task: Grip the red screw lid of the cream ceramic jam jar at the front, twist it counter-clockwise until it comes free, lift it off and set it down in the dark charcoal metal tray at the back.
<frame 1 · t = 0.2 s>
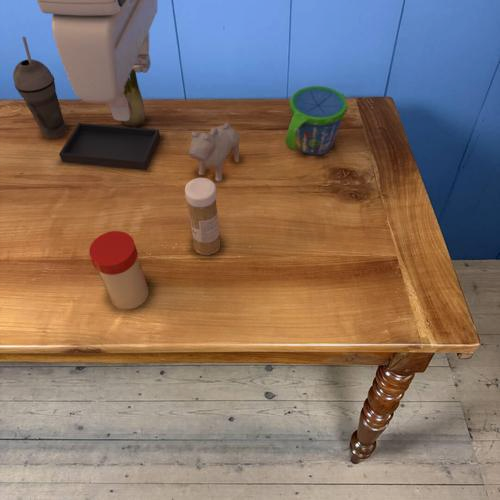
hand: (133, 91, 52), 30 cm above the table, tool pointing down, fingers open, 8 cm apart
lid: (112, 249, 62), point 11 cm above the table, screwed on, not yet turned
beverage cup: (55, 132, 97), on the table
dog figurine: (217, 170, 89), on the table
tray: (112, 149, 93), on the table
jar: (129, 293, 71), on the table
fennel bulb: (135, 124, 98), on the table
snack cup: (313, 145, 93), on the table
sprinkles bottle: (207, 246, 77), on the table
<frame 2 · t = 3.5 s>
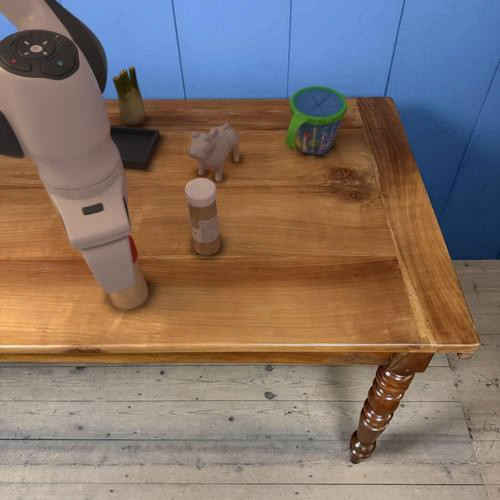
hand: (115, 256, 63), 9 cm above the table, tool pointing down, fingers closed on lid, 6 cm apart
lid: (112, 249, 62), point 11 cm above the table, screwed on, not yet turned, touching gripper
everything else where it was.
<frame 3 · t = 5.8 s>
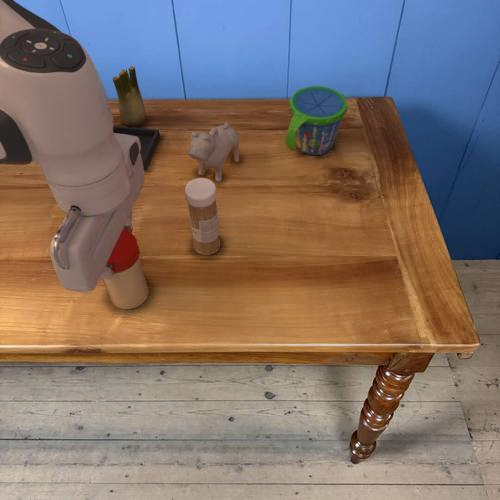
hand: (117, 253, 64), 9 cm above the table, tool pointing down, fingers closed on lid, 6 cm apart
lid: (115, 247, 63), point 11 cm above the table, off its thread, touching gripper, jar
jar: (129, 293, 71), on the table, touching lid
everything else where it was.
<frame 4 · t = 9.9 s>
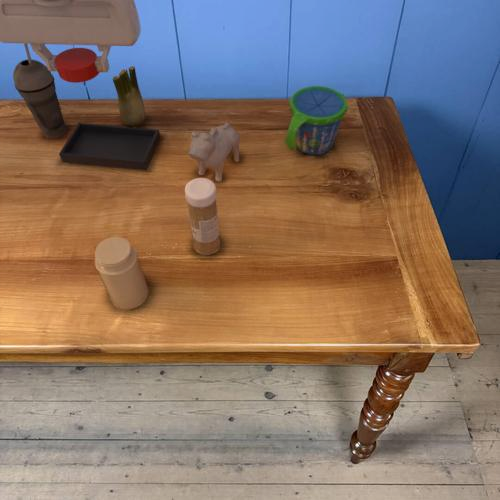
hand: (79, 69, 69), 23 cm above the table, tool pointing down, fingers closed on lid, 6 cm apart
lid: (76, 60, 68), point 24 cm above the table, off its thread, touching gripper
jar: (129, 293, 71), on the table
everything else where it was.
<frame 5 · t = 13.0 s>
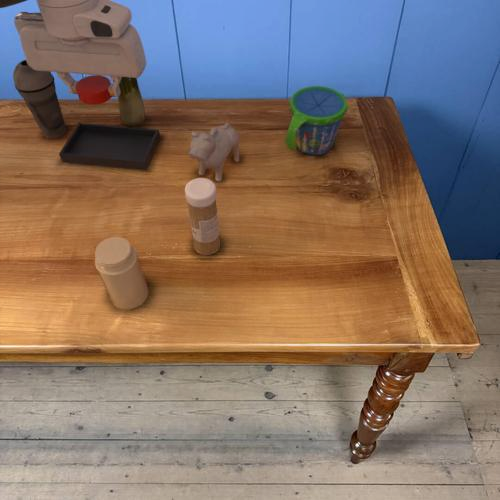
hand: (96, 93, 82), 13 cm above the table, tool pointing down, fingers closed on lid, 6 cm apart
lid: (93, 86, 81), point 14 cm above the table, off its thread, touching gripper
everything else where it was.
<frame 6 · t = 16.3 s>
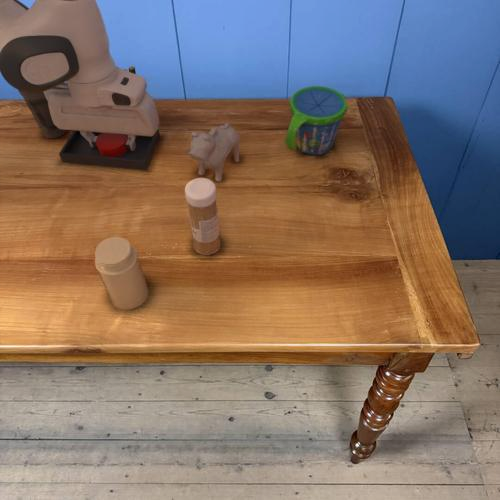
hand: (114, 147, 92), 1 cm above the table, tool pointing down, fingers closed on lid, 6 cm apart
lid: (111, 141, 91), point 2 cm above the table, off its thread, touching gripper, tray
beverage cup: (55, 132, 96), on the table, touching arm
everything else where it was.
when the fingers open (1 cm above the table, at t = 16.5 s): lid stays where it is, resting on tray.
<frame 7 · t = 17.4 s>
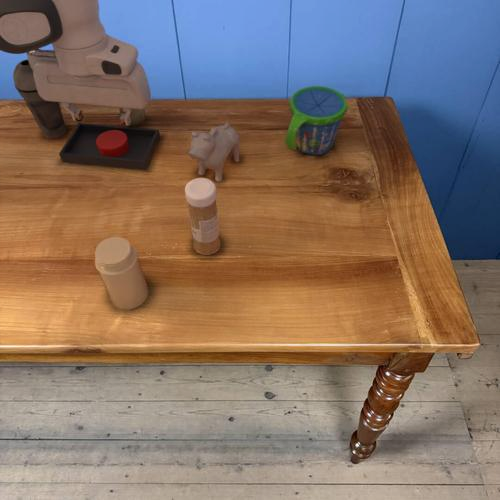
hand: (102, 121, 88), 6 cm above the table, tool pointing down, fingers open, 8 cm apart
lid: (112, 140, 91), point 2 cm above the table, off its thread, touching tray
beverage cup: (55, 132, 97), on the table
everything else where it was.
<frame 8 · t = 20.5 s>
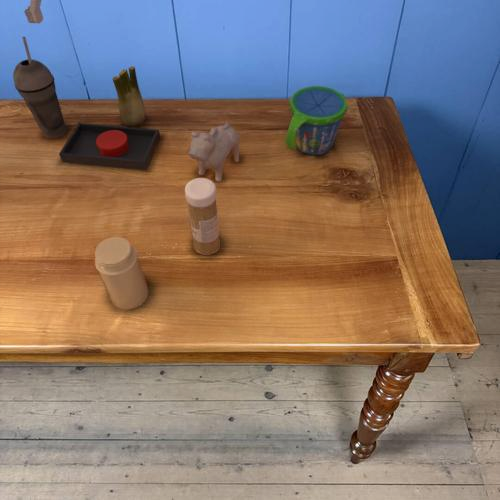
hand: (5, 19, 65), 29 cm above the table, tool pointing down, fingers open, 8 cm apart
nothing on the table moved.
at the end: lid came off its thread; lid inside the target area in the tray (0.4 cm from its centre), point 2.3 cm above the tray's base; the gripper is holding nothing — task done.
